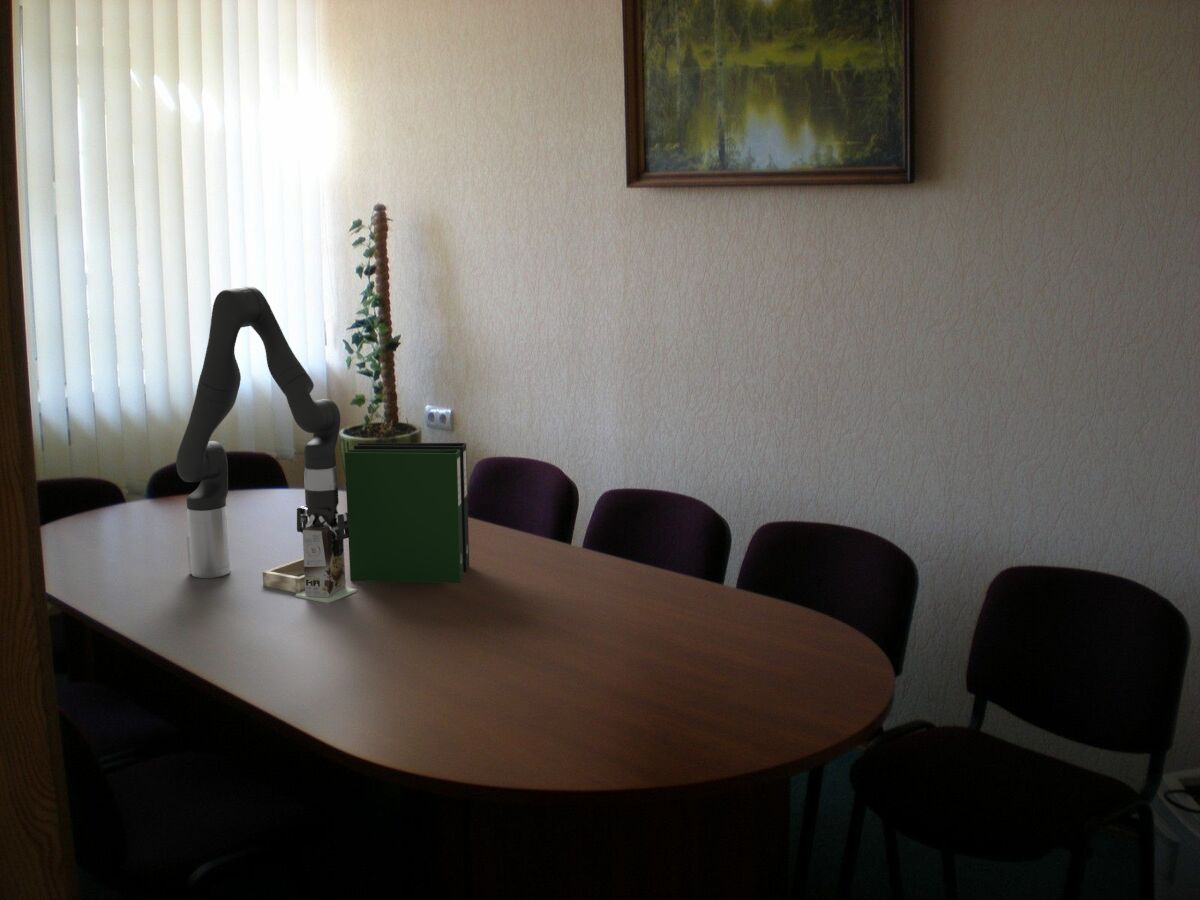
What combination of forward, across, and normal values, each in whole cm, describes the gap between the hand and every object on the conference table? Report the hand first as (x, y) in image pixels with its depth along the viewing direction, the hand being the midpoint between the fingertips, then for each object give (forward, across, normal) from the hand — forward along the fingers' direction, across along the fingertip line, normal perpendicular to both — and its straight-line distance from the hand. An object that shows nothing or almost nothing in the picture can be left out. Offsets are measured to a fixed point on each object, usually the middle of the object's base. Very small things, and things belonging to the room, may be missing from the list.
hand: (324, 553), depth 277 cm
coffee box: (+10, 0, 0) cm, 10 cm away
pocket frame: (+10, -12, +5) cm, 16 cm away
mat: (+10, 0, 0) cm, 10 cm away
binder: (+10, +7, +23) cm, 26 cm away
